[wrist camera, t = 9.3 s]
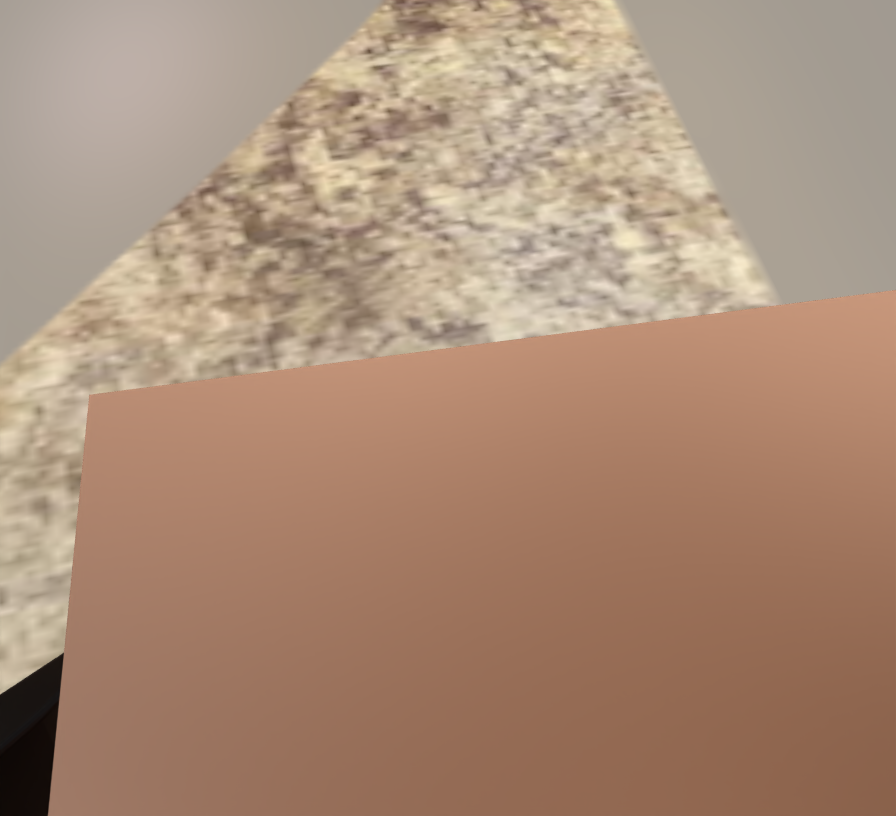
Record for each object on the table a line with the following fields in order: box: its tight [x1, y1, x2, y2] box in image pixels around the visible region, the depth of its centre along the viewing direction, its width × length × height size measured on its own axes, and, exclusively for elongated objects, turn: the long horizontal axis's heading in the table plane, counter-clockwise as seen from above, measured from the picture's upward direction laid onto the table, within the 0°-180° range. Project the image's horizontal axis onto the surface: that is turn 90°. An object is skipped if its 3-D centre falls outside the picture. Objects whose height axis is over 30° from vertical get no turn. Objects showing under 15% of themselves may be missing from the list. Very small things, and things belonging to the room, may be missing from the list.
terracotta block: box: [48, 290, 896, 816], centre depth 9 cm, size 5×5×13 cm
